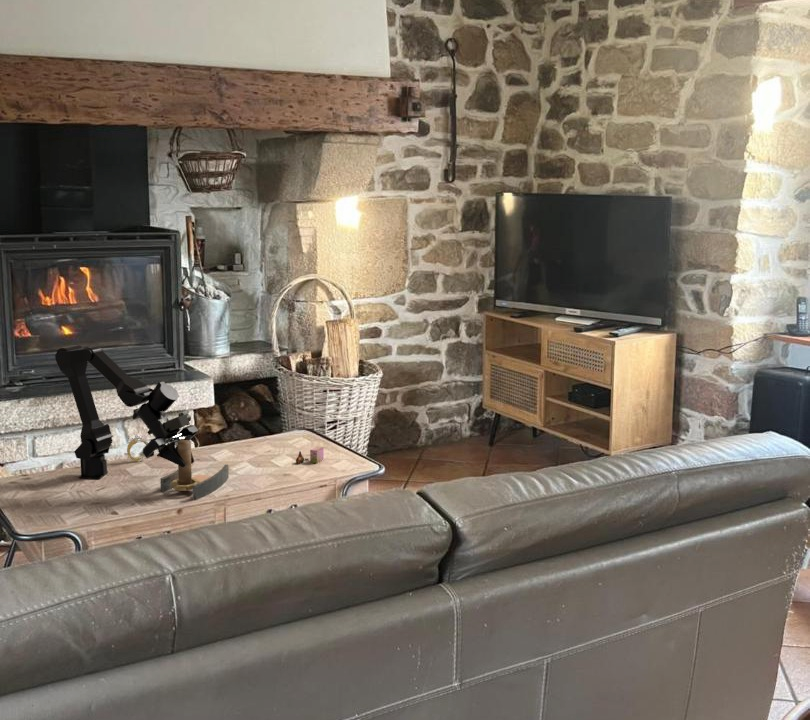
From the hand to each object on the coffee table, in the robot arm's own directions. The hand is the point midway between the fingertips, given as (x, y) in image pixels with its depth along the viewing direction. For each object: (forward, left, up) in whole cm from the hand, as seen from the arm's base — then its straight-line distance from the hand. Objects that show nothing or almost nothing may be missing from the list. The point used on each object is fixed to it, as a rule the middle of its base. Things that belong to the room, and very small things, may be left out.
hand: (188, 464), depth 272 cm
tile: (+1, +12, -8) cm, 15 cm away
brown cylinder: (-1, 0, -7) cm, 7 cm away
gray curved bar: (-1, +5, -8) cm, 10 cm away
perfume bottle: (+29, +33, -9) cm, 45 cm away
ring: (-25, +28, -9) cm, 38 cm away
